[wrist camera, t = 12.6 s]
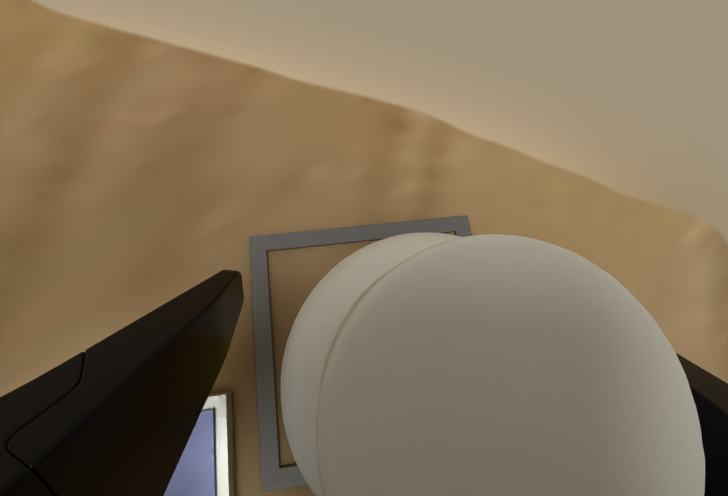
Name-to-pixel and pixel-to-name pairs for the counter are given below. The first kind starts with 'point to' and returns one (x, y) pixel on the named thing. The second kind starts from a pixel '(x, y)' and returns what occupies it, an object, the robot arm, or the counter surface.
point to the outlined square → (265, 377)
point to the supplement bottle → (484, 377)
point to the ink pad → (208, 453)
